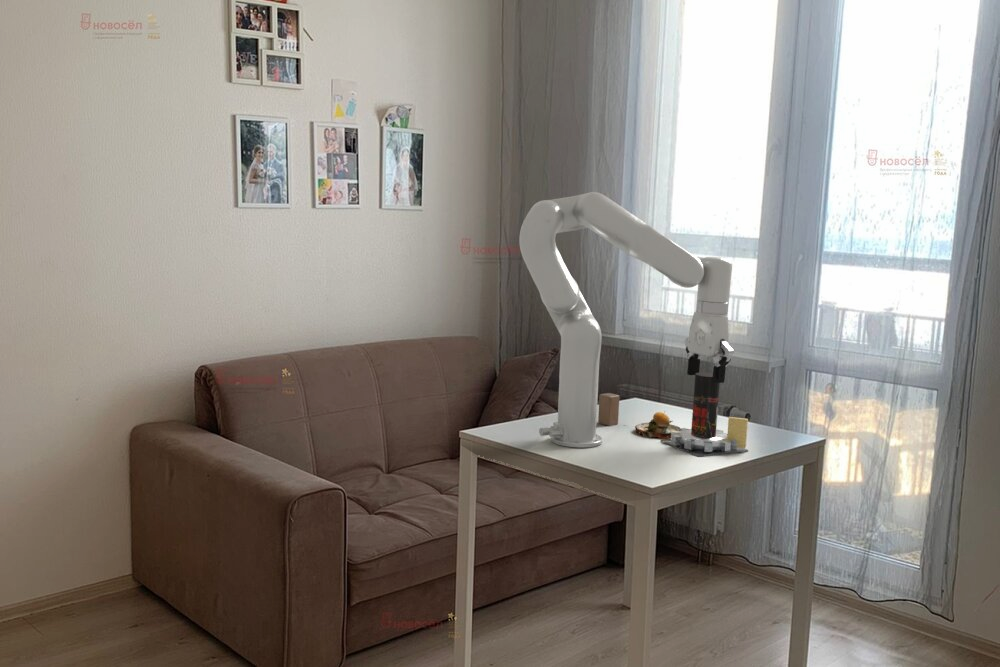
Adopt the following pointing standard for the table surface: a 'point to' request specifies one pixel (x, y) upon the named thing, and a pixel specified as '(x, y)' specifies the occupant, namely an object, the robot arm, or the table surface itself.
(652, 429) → the burger
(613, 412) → the wooden block
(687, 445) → the sprocket
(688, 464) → the table surface
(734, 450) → the plate
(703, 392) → the deodorant
